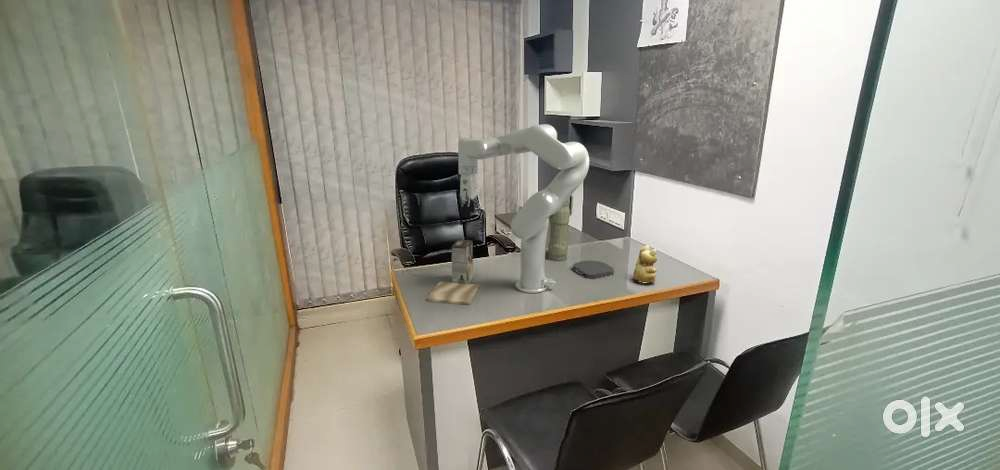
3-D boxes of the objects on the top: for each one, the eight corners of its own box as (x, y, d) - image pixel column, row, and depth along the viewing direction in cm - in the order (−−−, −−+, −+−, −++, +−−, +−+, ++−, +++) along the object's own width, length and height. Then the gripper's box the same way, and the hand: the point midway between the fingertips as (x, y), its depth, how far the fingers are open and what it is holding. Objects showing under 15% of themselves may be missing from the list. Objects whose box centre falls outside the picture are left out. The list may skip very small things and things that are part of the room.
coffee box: (458, 275, 190) (457, 239, 185) (473, 277, 189) (473, 240, 184) (451, 284, 182) (451, 246, 177) (467, 286, 180) (467, 247, 176)
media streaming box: (617, 275, 194) (618, 269, 193) (589, 281, 188) (589, 274, 187) (596, 264, 207) (596, 258, 206) (569, 269, 201) (569, 262, 200)
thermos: (573, 259, 212) (578, 184, 201) (552, 263, 206) (556, 186, 196) (562, 253, 219) (566, 180, 209) (541, 256, 214) (544, 182, 203)
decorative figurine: (659, 284, 185) (663, 248, 181) (644, 288, 181) (649, 252, 177) (640, 276, 193) (644, 242, 189) (626, 279, 189) (630, 245, 185)
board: (479, 287, 179) (479, 285, 179) (469, 305, 164) (469, 302, 164) (439, 283, 182) (439, 281, 182) (426, 300, 167) (426, 298, 167)
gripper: (472, 173, 173) (472, 219, 178) (482, 167, 189) (481, 209, 195) (452, 173, 174) (453, 218, 180) (464, 166, 191) (464, 208, 196)
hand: (468, 213), depth 187 cm, fingers open, 6 cm apart
